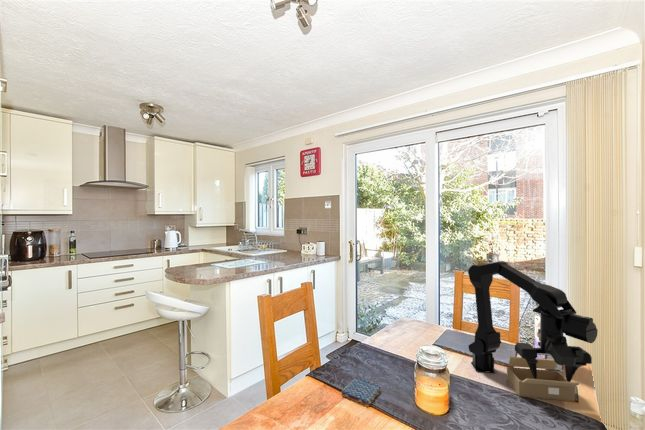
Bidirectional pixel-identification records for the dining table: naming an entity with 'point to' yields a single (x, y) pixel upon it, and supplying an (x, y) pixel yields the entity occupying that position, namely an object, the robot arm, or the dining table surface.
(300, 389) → the dining table surface
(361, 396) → the woven mat
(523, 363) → the back flap
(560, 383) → the front flap
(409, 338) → the dining table surface
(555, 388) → the carton
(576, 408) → the dining table surface
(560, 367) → the candy box
